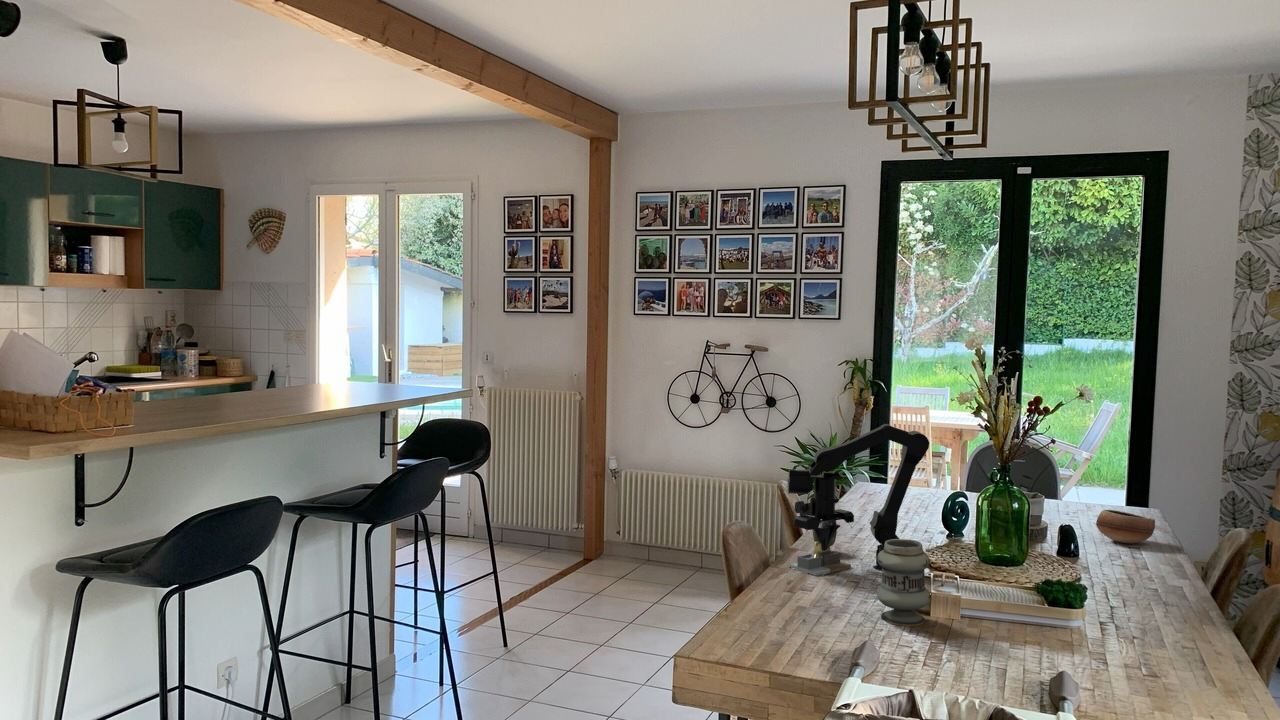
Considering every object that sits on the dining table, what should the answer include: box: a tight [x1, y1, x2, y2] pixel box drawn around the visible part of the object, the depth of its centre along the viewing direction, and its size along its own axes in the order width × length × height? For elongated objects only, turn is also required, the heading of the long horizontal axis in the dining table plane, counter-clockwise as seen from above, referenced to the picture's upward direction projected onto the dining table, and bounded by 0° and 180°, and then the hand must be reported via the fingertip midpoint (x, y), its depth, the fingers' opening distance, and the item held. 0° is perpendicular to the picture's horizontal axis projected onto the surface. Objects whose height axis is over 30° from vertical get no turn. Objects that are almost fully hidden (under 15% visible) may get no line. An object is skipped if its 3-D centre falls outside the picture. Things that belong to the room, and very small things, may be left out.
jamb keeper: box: [788, 553, 831, 576], centre depth 262 cm, size 10×6×4 cm, turn 37°
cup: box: [812, 529, 838, 552], centre depth 283 cm, size 8×7×8 cm
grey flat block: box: [821, 549, 852, 573], centre depth 266 cm, size 10×8×4 cm
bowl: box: [1095, 509, 1156, 544], centre depth 296 cm, size 16×16×10 cm
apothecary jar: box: [876, 538, 931, 627], centre depth 220 cm, size 12×12×18 cm
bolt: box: [806, 541, 823, 565], centre depth 263 cm, size 2×6×6 cm, turn 127°
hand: (823, 549), depth 265 cm, fingers closed
